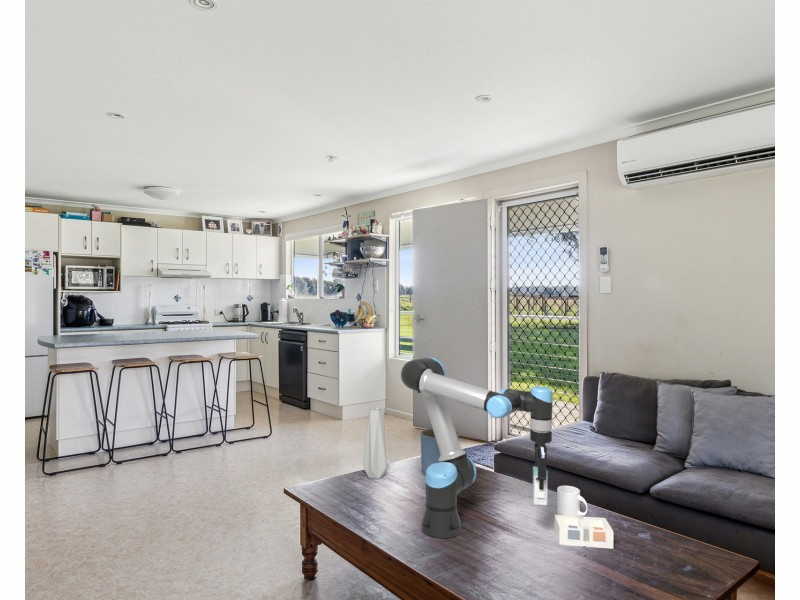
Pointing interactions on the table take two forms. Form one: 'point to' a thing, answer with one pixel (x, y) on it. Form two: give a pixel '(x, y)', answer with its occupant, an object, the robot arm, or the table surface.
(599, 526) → the socket box
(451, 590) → the table surface
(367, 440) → the vase
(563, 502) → the mug
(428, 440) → the planter
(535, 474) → the plug
